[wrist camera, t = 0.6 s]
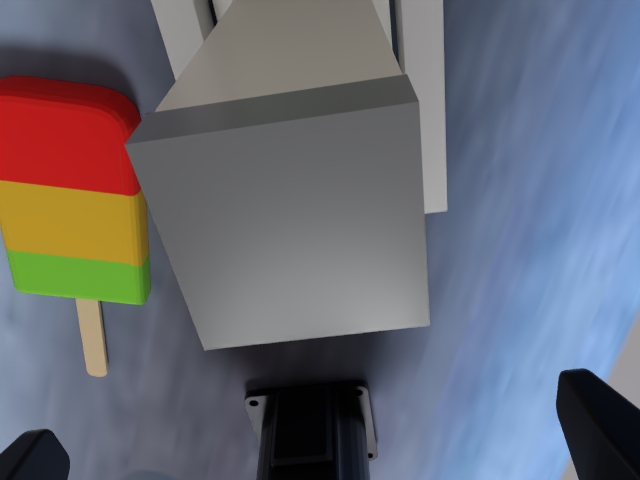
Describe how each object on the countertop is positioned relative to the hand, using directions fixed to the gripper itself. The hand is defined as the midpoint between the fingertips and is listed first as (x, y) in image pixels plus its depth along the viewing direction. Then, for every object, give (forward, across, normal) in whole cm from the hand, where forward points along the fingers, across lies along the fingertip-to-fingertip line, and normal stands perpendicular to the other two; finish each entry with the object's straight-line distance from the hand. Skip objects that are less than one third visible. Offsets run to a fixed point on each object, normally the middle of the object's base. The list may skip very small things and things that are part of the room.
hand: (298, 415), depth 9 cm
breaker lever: (+12, -1, -3) cm, 13 cm away
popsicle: (+14, +10, +4) cm, 18 cm away
